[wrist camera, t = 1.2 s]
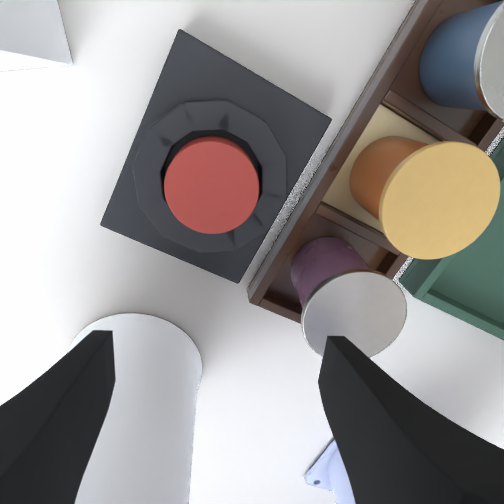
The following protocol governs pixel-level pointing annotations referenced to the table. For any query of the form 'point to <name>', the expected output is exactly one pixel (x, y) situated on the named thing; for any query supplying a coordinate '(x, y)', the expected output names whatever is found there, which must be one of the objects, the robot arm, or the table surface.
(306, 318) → the mauve pod
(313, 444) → the table surface
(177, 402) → the mug
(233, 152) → the button
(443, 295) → the tray
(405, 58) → the pod stand
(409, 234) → the coffee pod
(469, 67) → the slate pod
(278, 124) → the button block
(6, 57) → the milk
